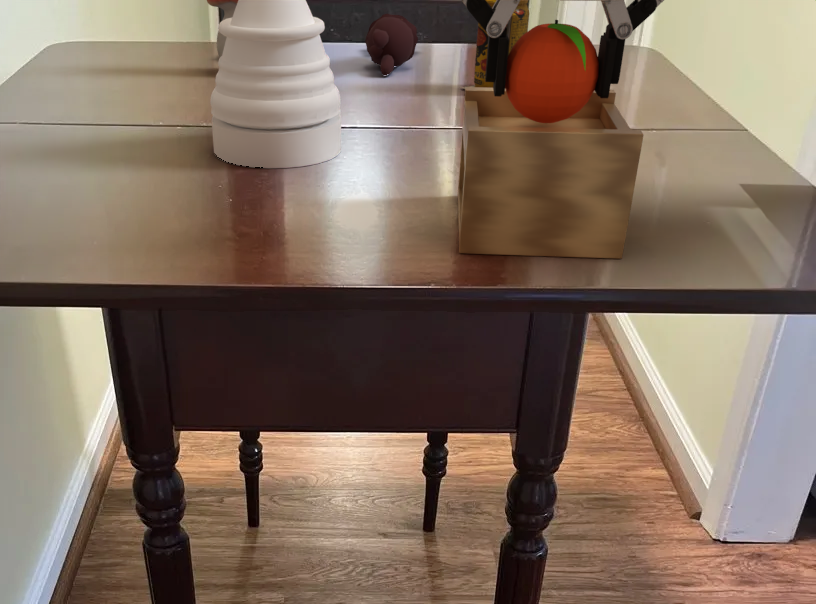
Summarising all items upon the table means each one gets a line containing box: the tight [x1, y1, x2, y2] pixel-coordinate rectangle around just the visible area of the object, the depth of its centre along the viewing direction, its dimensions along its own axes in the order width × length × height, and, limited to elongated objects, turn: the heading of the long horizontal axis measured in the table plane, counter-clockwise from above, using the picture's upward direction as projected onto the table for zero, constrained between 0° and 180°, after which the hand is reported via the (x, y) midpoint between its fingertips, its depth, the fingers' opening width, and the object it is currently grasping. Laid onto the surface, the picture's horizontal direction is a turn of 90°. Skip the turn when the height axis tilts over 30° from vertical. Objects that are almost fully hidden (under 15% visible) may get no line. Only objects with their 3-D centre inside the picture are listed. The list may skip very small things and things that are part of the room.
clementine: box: [505, 19, 599, 123], centre depth 68 cm, size 8×7×7 cm
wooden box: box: [457, 86, 645, 260], centre depth 72 cm, size 12×14×9 cm
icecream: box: [364, 13, 419, 76], centre depth 126 cm, size 7×7×15 cm
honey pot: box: [209, 0, 342, 169], centre depth 88 cm, size 13×13×18 cm
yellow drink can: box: [459, 0, 530, 90], centre depth 113 cm, size 7×8×12 cm
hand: (549, 91), depth 69 cm, fingers closed on clementine, 7 cm apart
